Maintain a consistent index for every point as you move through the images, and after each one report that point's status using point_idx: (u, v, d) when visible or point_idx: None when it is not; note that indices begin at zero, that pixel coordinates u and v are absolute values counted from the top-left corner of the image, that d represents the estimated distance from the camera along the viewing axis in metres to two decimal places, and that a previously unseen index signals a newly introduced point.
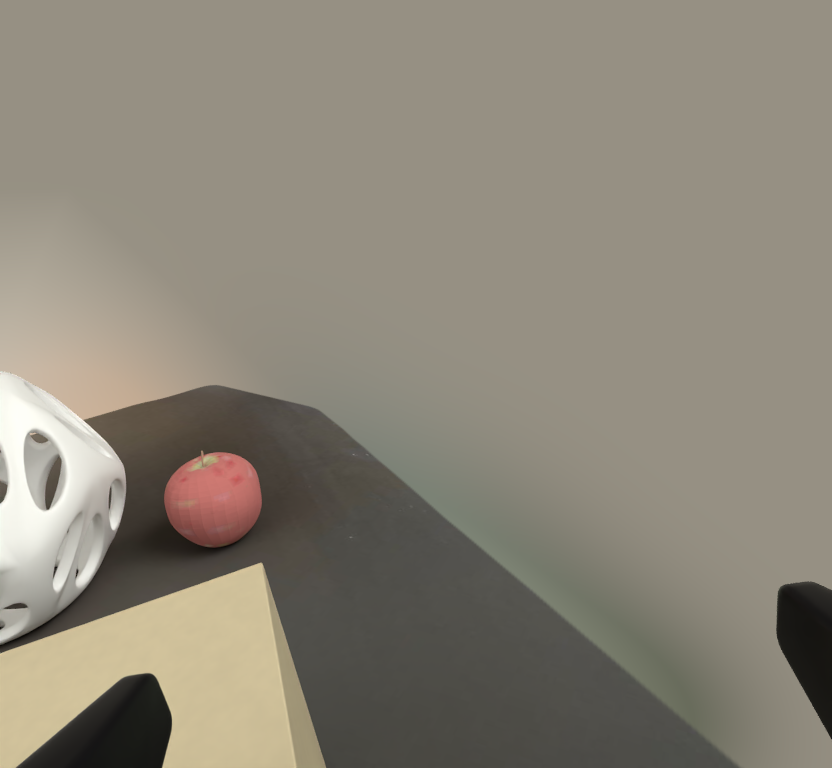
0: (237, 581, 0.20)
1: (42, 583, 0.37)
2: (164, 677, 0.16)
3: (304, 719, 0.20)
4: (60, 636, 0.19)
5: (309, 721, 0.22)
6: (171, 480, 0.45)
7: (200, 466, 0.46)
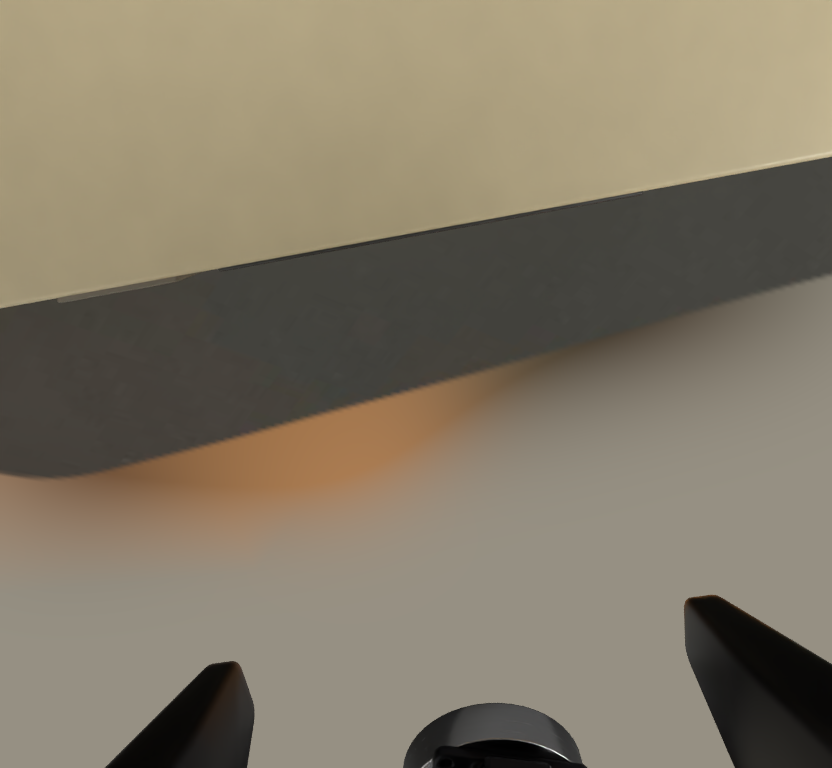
0: None
1: None
2: None
3: None
4: None
5: None
6: None
7: None
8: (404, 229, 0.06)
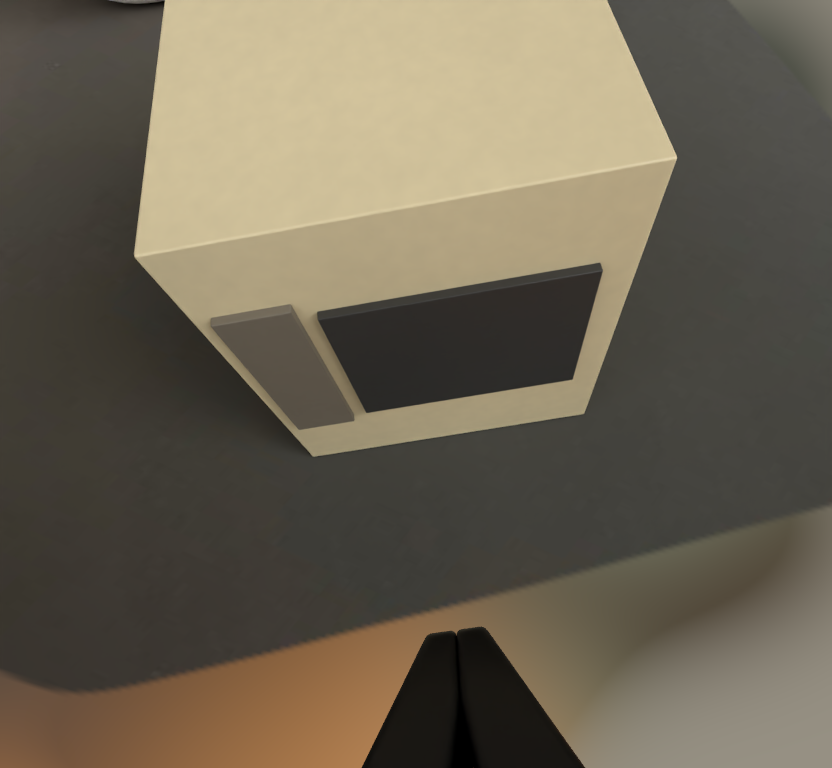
0: None
1: None
2: None
3: None
4: None
5: None
6: None
7: None
8: (435, 199, 0.11)
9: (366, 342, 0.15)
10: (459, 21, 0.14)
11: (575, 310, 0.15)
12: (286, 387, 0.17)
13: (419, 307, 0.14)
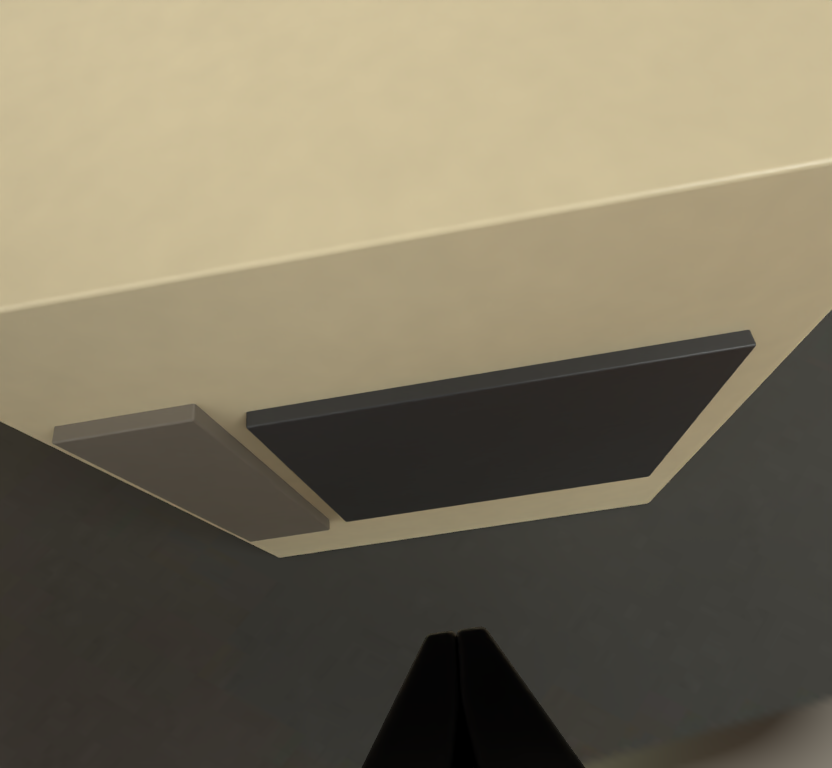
0: None
1: None
2: None
3: None
4: None
5: None
6: None
7: None
8: (462, 221, 0.05)
9: (336, 452, 0.09)
10: None
11: (686, 400, 0.09)
12: (217, 504, 0.11)
13: (425, 405, 0.08)
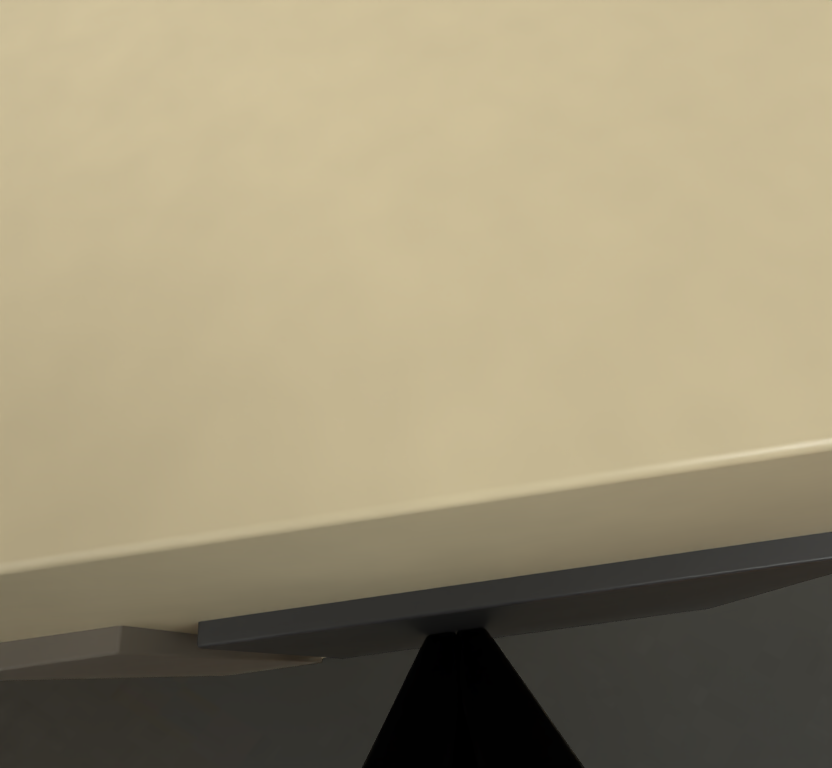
0: None
1: None
2: None
3: None
4: None
5: None
6: None
7: None
8: (534, 481, 0.03)
9: (326, 641, 0.07)
10: None
11: (795, 578, 0.07)
12: (176, 672, 0.09)
13: None
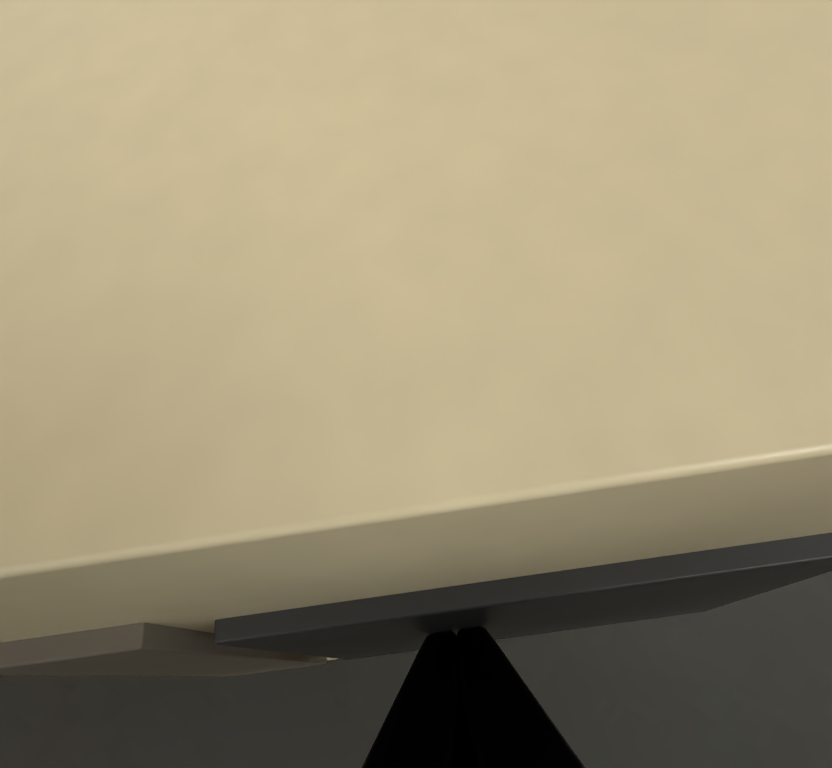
0: None
1: None
2: None
3: None
4: None
5: None
6: None
7: None
8: (527, 487, 0.03)
9: (333, 640, 0.07)
10: None
11: (780, 580, 0.07)
12: (188, 671, 0.09)
13: None
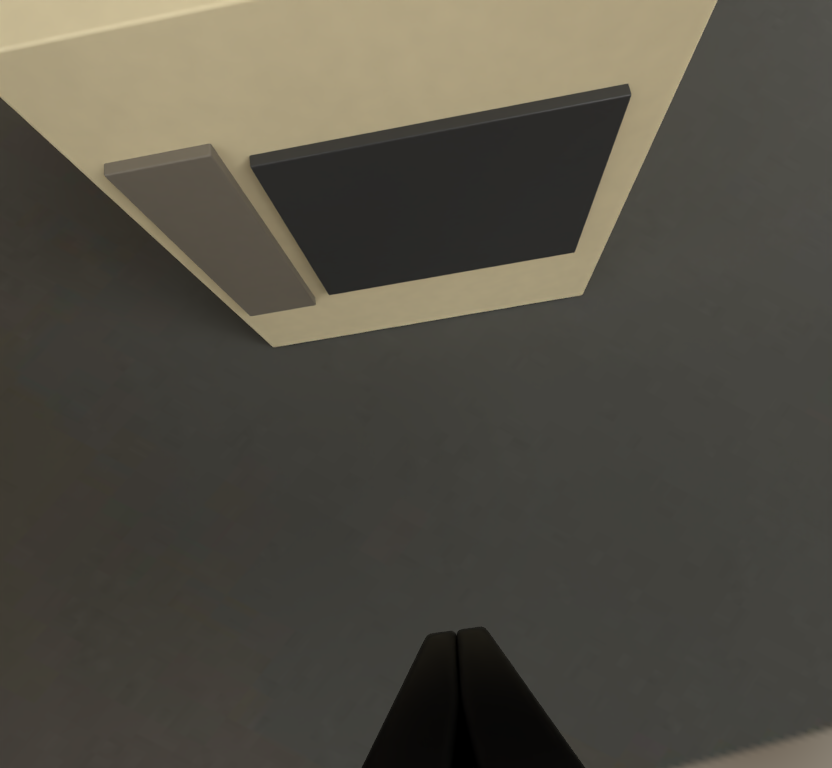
0: None
1: None
2: None
3: None
4: None
5: None
6: None
7: None
8: None
9: (319, 201, 0.12)
10: None
11: (588, 156, 0.12)
12: (225, 262, 0.14)
13: (385, 149, 0.11)
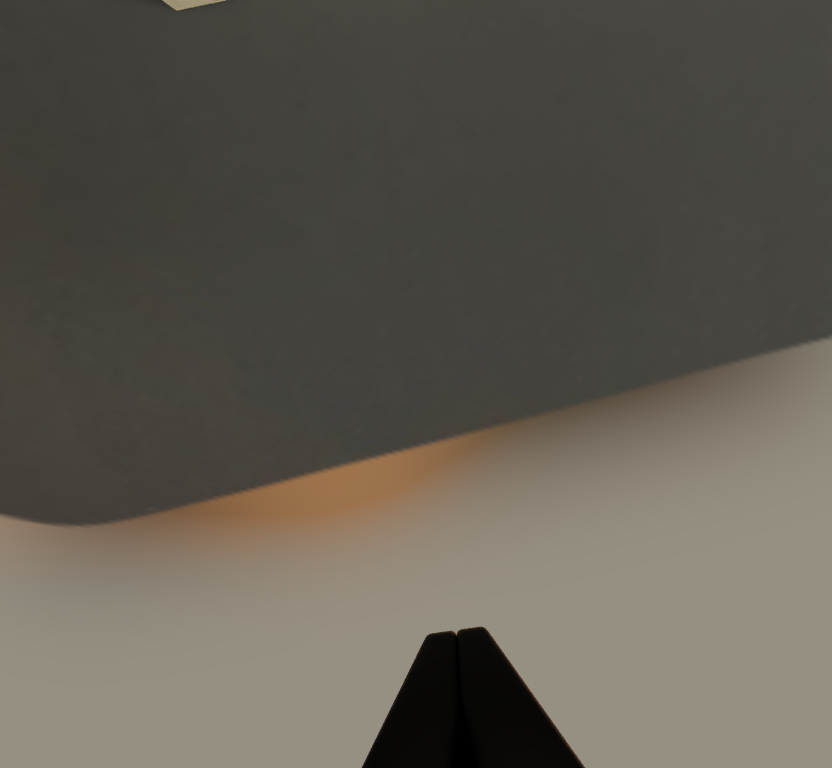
0: None
1: None
2: None
3: None
4: None
5: None
6: None
7: None
8: None
9: None
10: None
11: None
12: None
13: None
